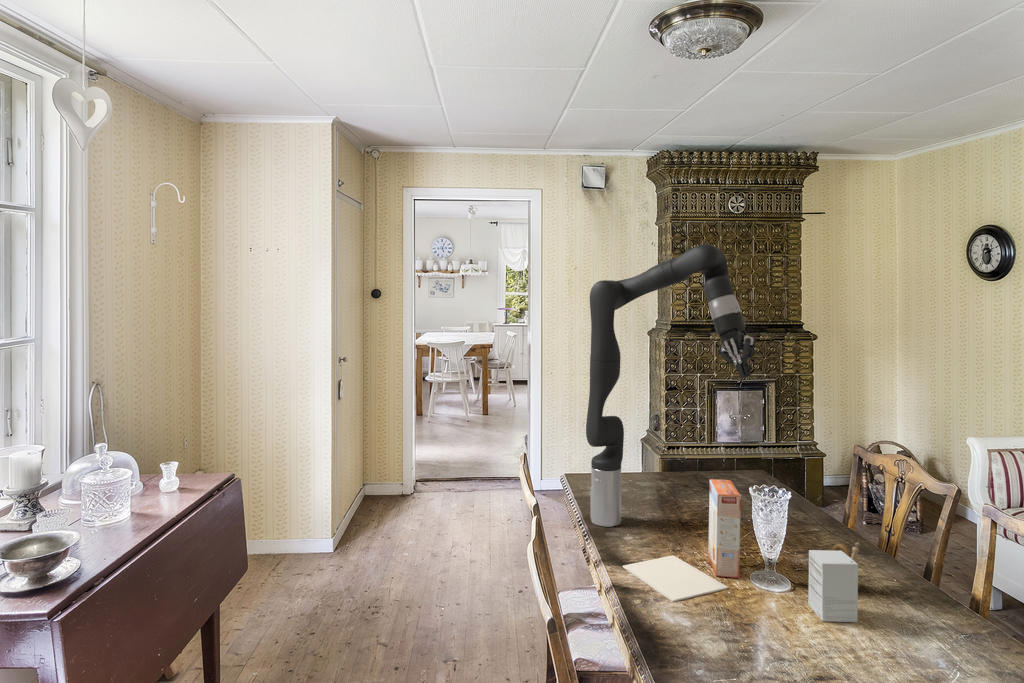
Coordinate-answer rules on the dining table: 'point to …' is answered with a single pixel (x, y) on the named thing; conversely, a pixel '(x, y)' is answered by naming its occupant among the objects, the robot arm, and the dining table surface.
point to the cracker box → (724, 528)
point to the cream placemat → (674, 578)
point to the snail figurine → (847, 550)
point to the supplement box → (833, 586)
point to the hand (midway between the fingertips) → (746, 377)
